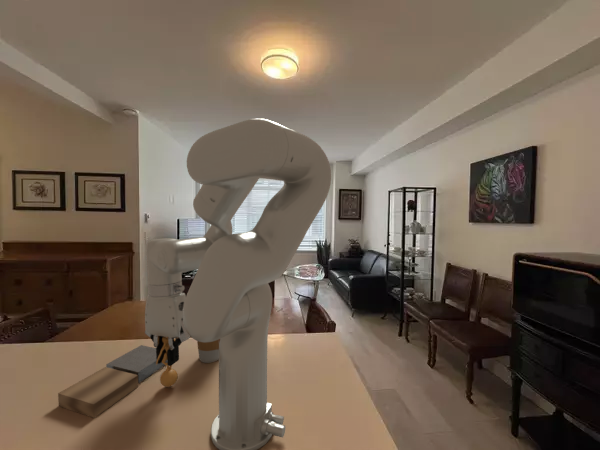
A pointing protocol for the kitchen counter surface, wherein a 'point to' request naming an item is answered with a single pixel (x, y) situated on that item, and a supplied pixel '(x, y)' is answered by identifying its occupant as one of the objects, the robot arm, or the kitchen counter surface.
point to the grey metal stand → (138, 362)
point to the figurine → (169, 374)
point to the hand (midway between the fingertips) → (168, 361)
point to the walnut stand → (98, 391)
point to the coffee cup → (208, 351)
